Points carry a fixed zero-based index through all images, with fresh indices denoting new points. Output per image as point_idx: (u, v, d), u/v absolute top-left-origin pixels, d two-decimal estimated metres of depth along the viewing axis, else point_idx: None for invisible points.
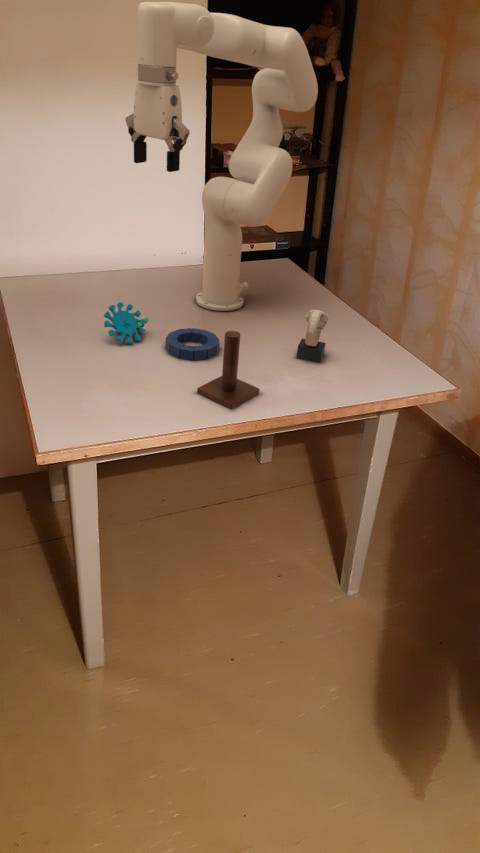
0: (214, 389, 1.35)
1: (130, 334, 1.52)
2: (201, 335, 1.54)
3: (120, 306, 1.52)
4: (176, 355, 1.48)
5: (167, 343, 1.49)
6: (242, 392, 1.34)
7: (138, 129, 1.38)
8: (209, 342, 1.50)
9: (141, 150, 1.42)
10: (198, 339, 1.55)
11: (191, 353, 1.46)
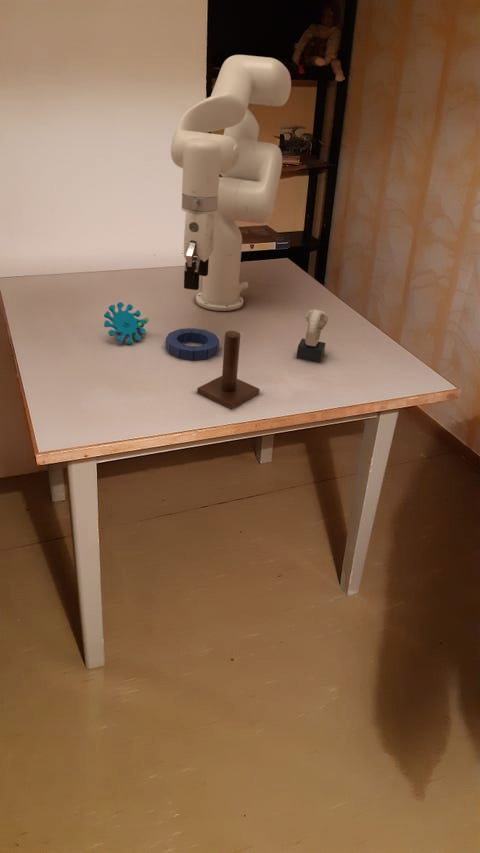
0: (214, 389, 1.35)
1: (130, 334, 1.52)
2: (201, 335, 1.54)
3: (120, 306, 1.52)
4: (176, 355, 1.48)
5: (167, 343, 1.49)
6: (242, 392, 1.34)
7: None
8: (209, 342, 1.50)
9: (200, 265, 1.51)
10: (198, 339, 1.55)
11: (191, 353, 1.46)
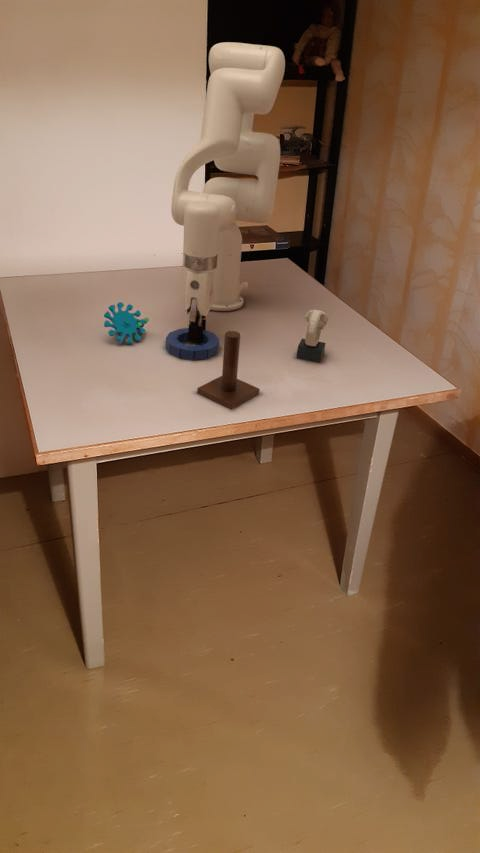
0: (214, 389, 1.35)
1: (130, 334, 1.52)
2: None
3: (120, 306, 1.52)
4: (176, 355, 1.48)
5: (167, 343, 1.49)
6: (242, 392, 1.34)
7: None
8: (209, 342, 1.50)
9: None
10: None
11: (191, 353, 1.46)
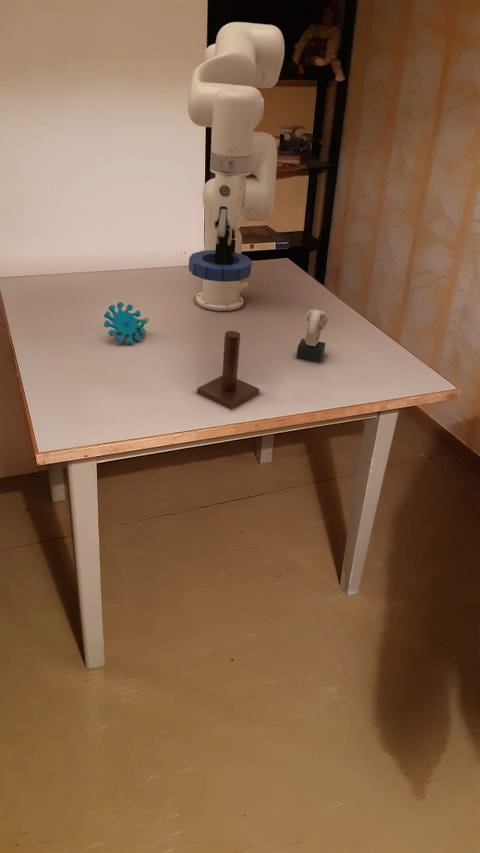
0: (214, 389, 1.35)
1: (130, 334, 1.52)
2: None
3: (120, 306, 1.52)
4: (202, 276, 1.25)
5: (191, 263, 1.27)
6: (242, 392, 1.34)
7: None
8: (240, 263, 1.27)
9: None
10: None
11: (220, 272, 1.24)
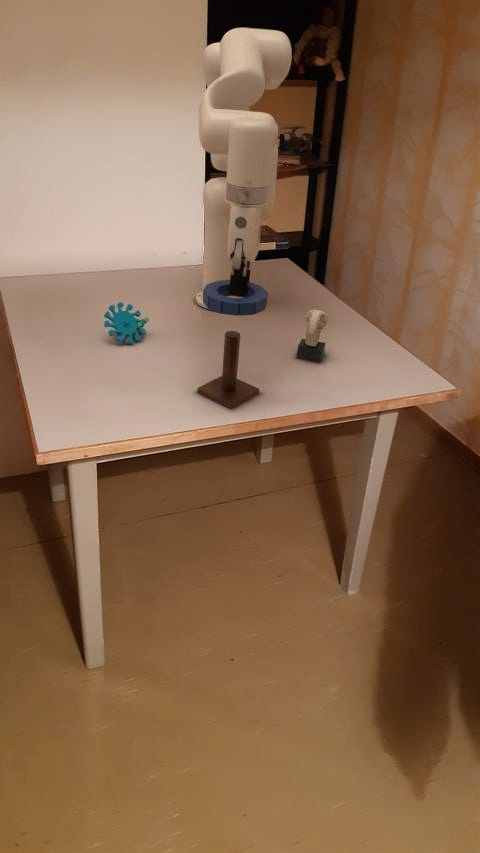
0: (214, 389, 1.35)
1: (130, 334, 1.52)
2: None
3: (120, 306, 1.52)
4: (217, 309, 1.21)
5: (205, 295, 1.23)
6: (242, 392, 1.34)
7: None
8: (256, 295, 1.23)
9: None
10: None
11: (236, 306, 1.20)
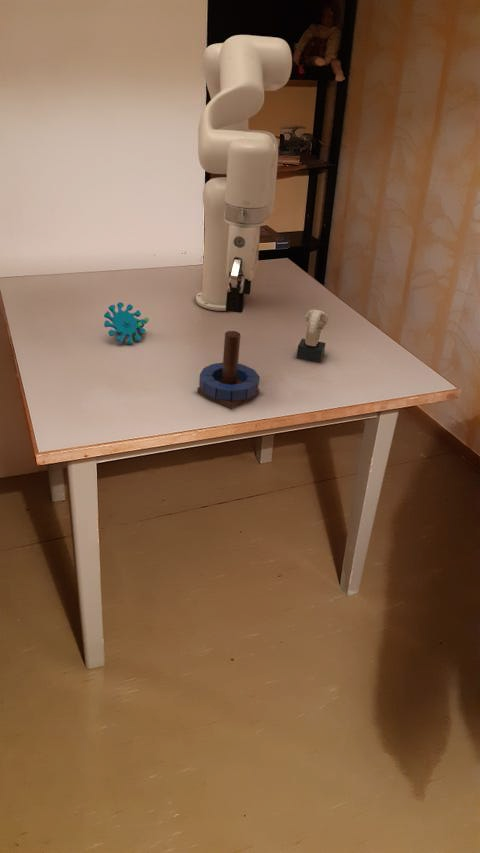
0: None
1: (130, 334, 1.52)
2: (239, 371, 1.38)
3: (120, 306, 1.52)
4: (212, 395, 1.32)
5: (201, 380, 1.33)
6: None
7: None
8: (248, 380, 1.34)
9: None
10: None
11: (229, 393, 1.30)
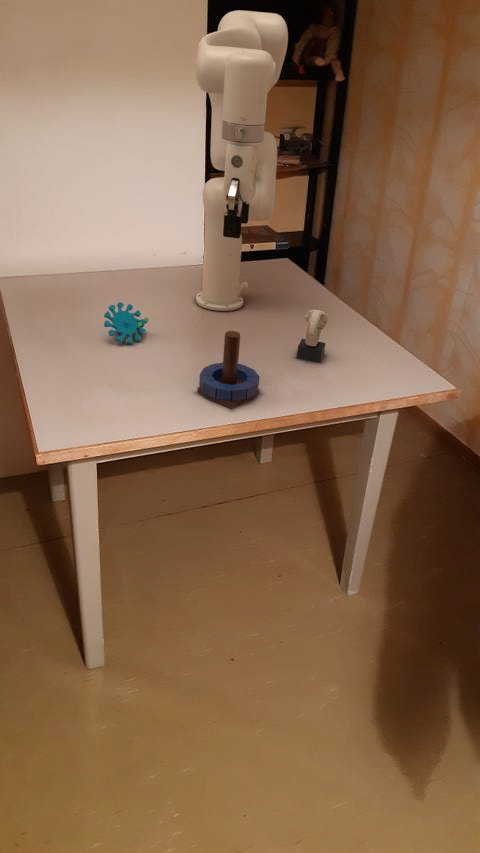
0: None
1: (130, 334, 1.52)
2: (239, 371, 1.38)
3: (120, 306, 1.52)
4: (212, 395, 1.32)
5: (201, 380, 1.33)
6: None
7: None
8: (248, 380, 1.34)
9: None
10: None
11: (229, 393, 1.30)
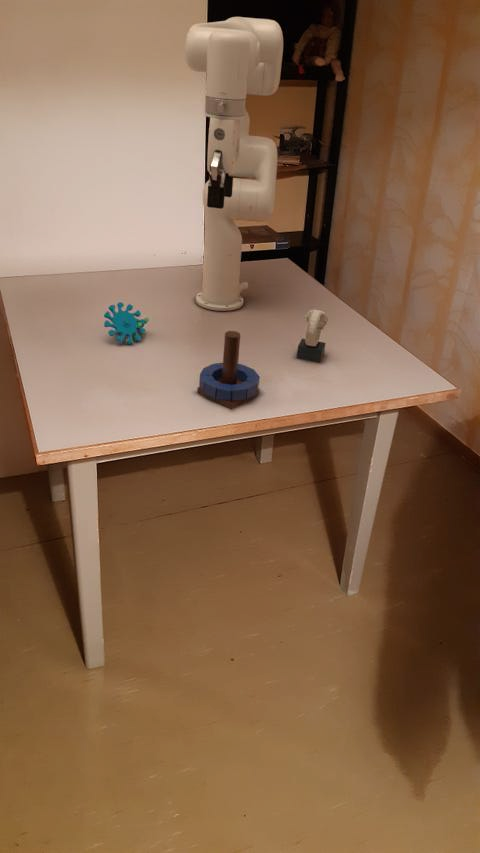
0: None
1: (130, 334, 1.52)
2: (239, 371, 1.38)
3: (120, 306, 1.52)
4: (212, 395, 1.32)
5: (201, 380, 1.33)
6: None
7: None
8: (248, 380, 1.34)
9: (224, 184, 1.36)
10: None
11: (229, 393, 1.30)
